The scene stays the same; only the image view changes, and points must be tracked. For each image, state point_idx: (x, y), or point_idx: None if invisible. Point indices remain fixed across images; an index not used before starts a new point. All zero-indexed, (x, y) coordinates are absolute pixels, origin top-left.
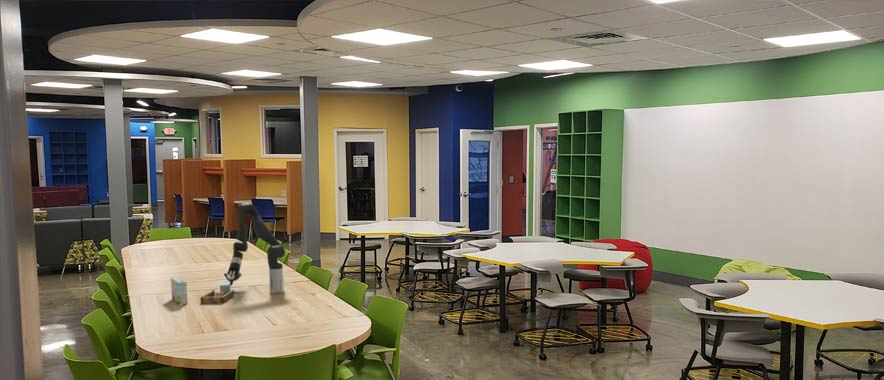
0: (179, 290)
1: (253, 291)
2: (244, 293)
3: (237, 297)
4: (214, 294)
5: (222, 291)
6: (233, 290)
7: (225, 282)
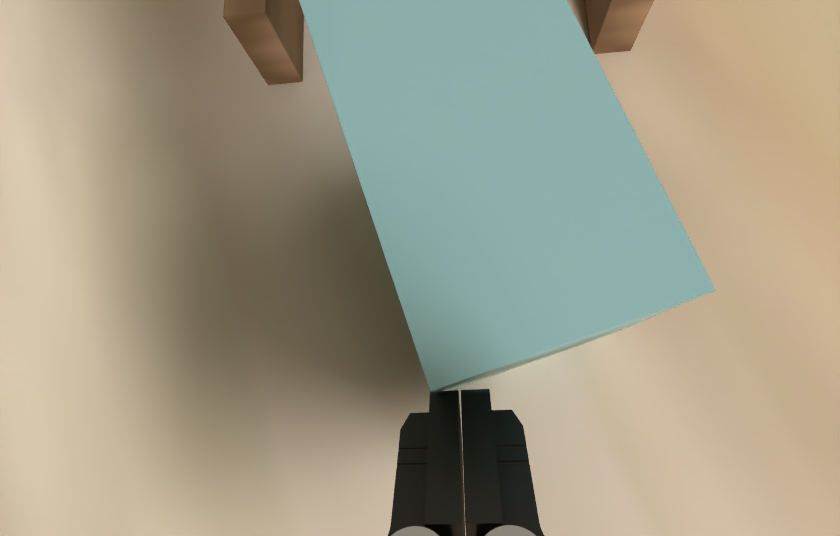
0: None
1: (17, 426)
2: (145, 262)
3: (188, 9)
4: (598, 28)
5: None
6: (226, 2)
7: (485, 136)
